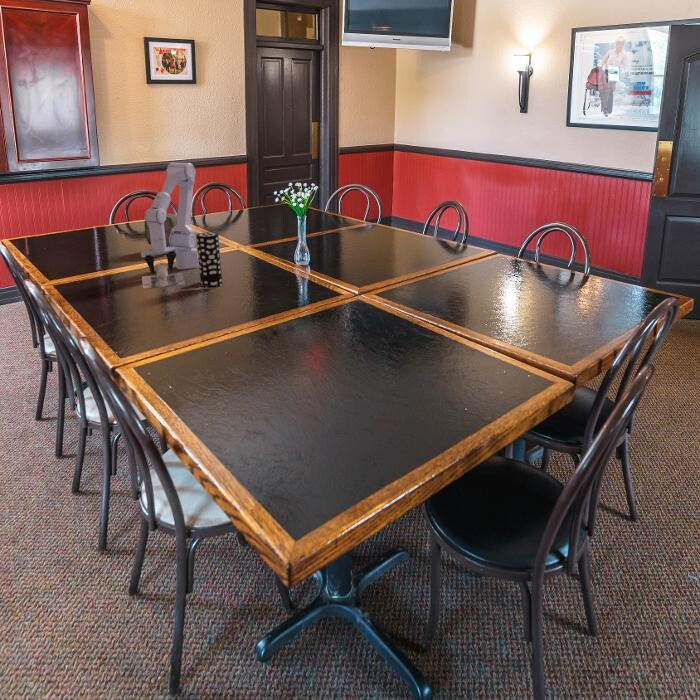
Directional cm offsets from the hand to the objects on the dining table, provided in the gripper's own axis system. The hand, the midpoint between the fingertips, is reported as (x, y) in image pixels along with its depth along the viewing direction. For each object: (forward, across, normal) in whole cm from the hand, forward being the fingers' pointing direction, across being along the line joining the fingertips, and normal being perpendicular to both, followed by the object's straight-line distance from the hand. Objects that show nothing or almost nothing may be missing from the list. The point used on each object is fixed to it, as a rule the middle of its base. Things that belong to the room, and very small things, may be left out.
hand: (161, 272), depth 267 cm
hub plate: (+3, +2, +6) cm, 7 cm away
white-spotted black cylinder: (+3, -11, +21) cm, 24 cm away
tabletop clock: (+3, -22, -44) cm, 49 cm away
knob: (+2, 0, 0) cm, 2 cm away
